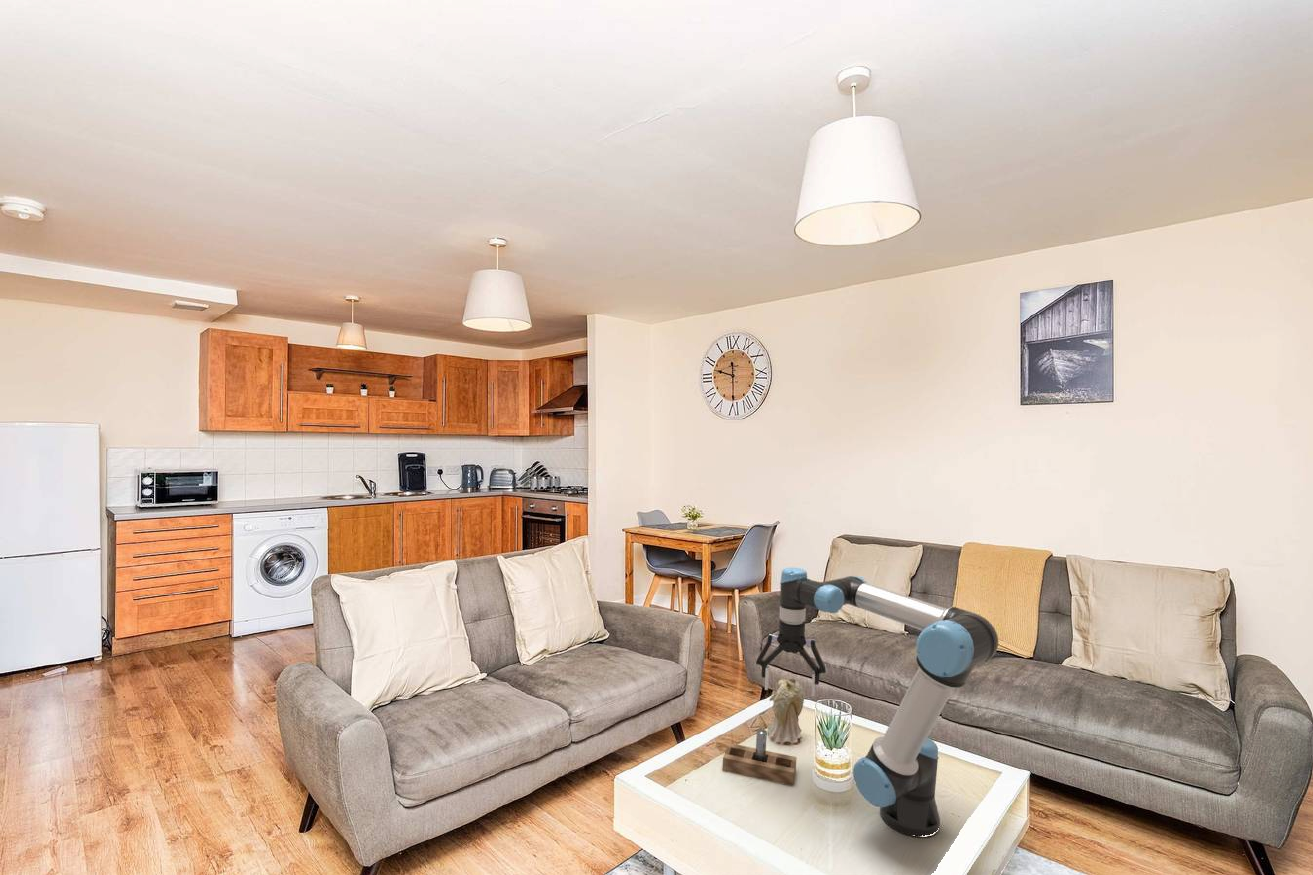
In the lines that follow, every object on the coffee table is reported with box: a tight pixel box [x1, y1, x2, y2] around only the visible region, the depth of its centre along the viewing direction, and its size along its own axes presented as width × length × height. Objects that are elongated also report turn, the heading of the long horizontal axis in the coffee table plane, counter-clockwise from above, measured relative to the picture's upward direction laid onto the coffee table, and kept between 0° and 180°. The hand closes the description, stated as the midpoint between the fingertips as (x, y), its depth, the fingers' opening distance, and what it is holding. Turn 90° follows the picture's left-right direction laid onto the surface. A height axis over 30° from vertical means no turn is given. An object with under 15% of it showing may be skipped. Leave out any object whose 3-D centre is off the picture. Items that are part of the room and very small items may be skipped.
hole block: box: [721, 742, 797, 787], centre depth 195 cm, size 21×9×4 cm, turn 73°
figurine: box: [767, 678, 805, 747], centre depth 215 cm, size 12×12×20 cm
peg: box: [755, 728, 768, 762], centre depth 195 cm, size 3×3×12 cm
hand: (789, 691), depth 192 cm, fingers open, 13 cm apart
